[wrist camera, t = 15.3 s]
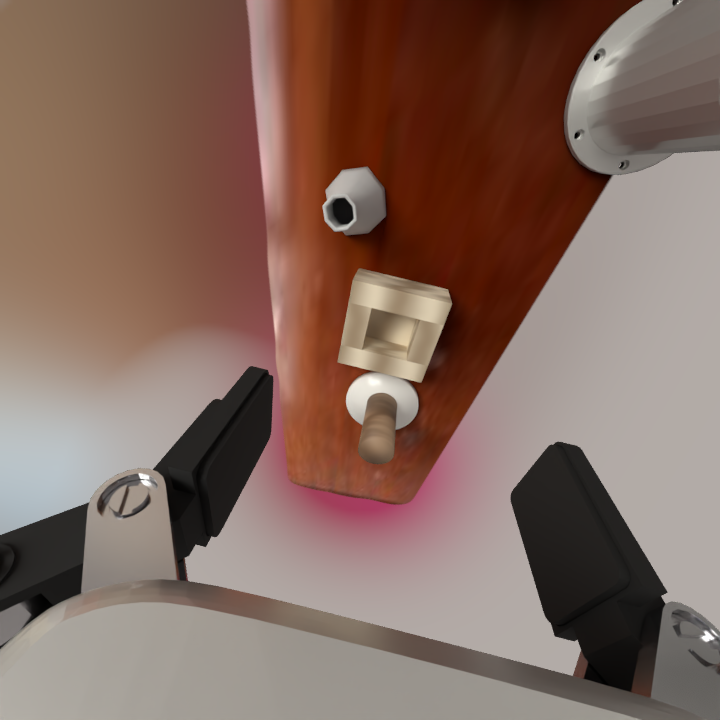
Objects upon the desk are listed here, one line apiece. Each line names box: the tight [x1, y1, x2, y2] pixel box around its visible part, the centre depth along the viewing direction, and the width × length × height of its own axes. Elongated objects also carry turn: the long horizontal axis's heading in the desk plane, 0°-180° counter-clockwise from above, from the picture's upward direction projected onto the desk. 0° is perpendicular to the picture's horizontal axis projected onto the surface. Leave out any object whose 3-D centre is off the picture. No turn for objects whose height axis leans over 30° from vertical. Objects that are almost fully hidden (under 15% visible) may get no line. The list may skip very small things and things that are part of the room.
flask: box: [323, 167, 386, 235], centre depth 32 cm, size 7×7×10 cm
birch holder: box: [338, 268, 452, 383], centre depth 41 cm, size 12×12×5 cm
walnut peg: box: [358, 393, 397, 464], centre depth 46 cm, size 5×5×10 cm
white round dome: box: [346, 371, 418, 430], centre depth 51 cm, size 12×12×1 cm
